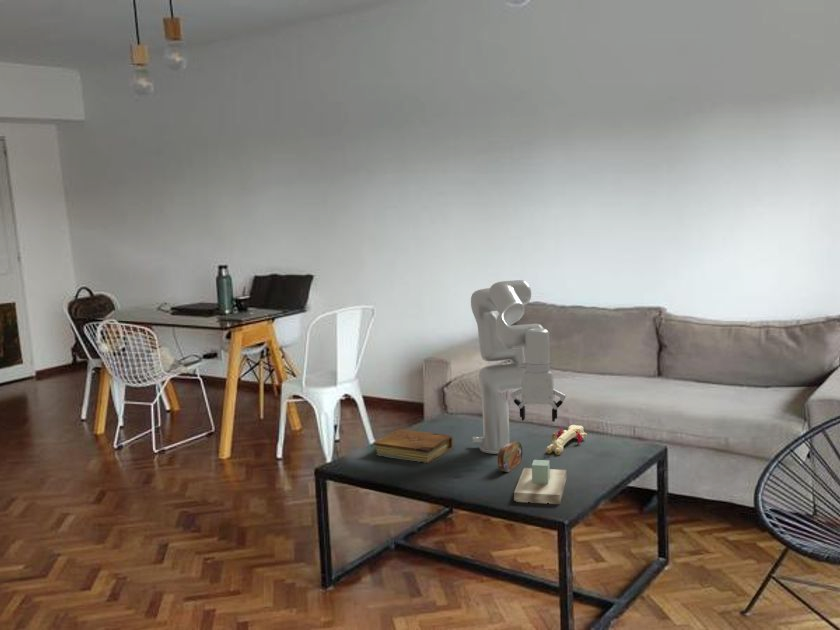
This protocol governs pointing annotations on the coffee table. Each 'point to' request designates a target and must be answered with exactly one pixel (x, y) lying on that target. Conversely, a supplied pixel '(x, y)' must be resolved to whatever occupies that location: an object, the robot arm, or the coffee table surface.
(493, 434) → the robot arm
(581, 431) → the cream elongated piece
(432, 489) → the coffee table surface
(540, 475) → the block
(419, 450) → the diary
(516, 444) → the tin
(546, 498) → the base block
